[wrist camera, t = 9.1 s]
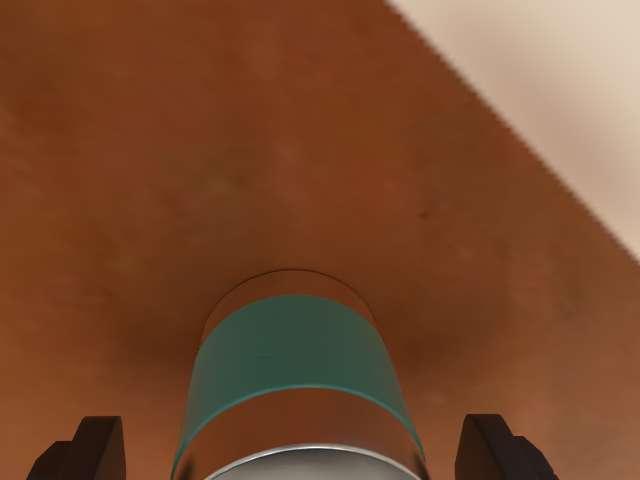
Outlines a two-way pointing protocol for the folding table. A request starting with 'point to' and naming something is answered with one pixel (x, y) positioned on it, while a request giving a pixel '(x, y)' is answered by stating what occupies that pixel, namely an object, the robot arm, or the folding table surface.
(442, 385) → the folding table surface
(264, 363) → the tin can
